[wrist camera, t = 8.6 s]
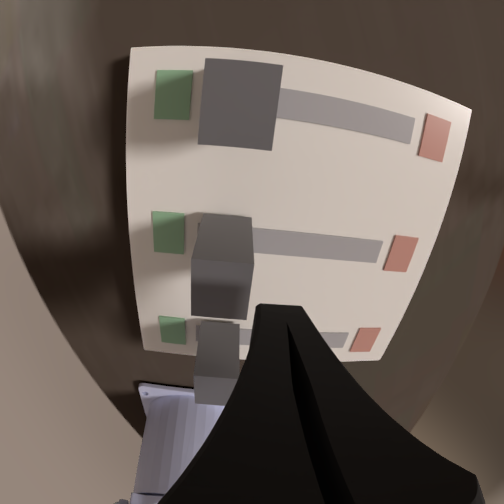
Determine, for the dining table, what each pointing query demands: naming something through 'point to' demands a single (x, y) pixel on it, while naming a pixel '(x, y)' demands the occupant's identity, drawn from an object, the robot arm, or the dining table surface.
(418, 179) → the breaker board
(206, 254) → the block
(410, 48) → the dining table surface
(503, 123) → the dining table surface
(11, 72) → the dining table surface
